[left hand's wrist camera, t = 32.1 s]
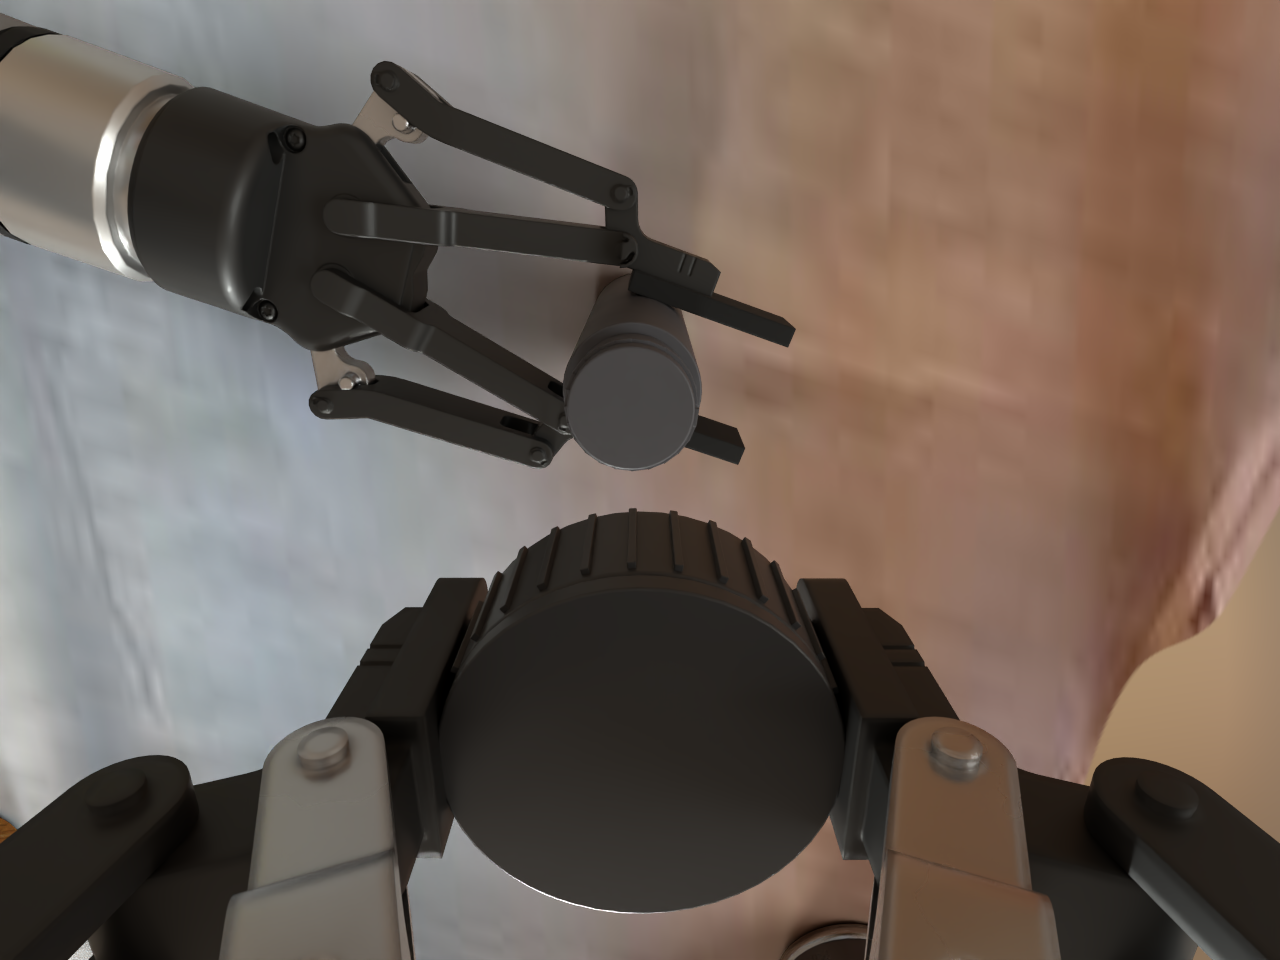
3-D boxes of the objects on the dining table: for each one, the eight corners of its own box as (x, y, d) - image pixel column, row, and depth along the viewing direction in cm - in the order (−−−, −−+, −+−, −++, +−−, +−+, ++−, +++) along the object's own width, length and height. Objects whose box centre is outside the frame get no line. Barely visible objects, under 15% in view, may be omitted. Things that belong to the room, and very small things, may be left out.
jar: (588, 357, 36) (548, 470, 22) (598, 267, 35) (562, 324, 20) (674, 368, 37) (694, 489, 22) (688, 280, 35) (718, 345, 20)
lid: (885, 659, 11) (941, 764, 9) (644, 845, 13) (645, 973, 11) (637, 429, 10) (636, 492, 8) (398, 665, 11) (343, 772, 9)
